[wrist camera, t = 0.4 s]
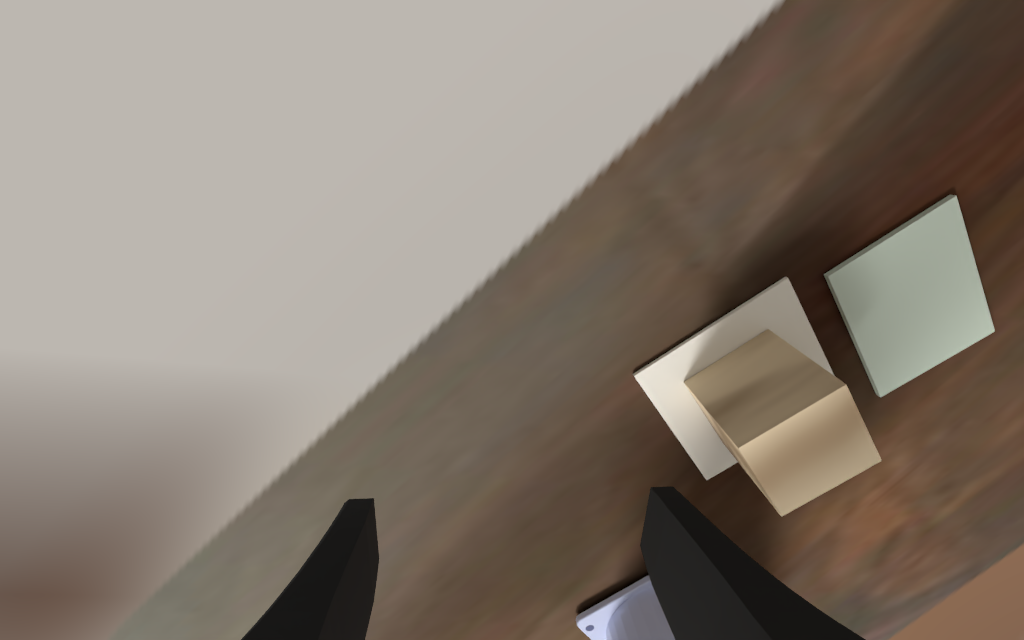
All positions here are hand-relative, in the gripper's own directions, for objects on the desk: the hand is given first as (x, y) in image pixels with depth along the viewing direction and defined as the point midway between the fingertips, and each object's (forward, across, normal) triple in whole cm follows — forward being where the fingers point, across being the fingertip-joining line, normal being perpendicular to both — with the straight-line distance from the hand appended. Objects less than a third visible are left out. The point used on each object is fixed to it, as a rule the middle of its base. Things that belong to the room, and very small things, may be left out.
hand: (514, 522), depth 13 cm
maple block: (+10, -12, +2) cm, 16 cm away
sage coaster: (+10, -20, -2) cm, 22 cm away
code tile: (+10, -12, +2) cm, 16 cm away
